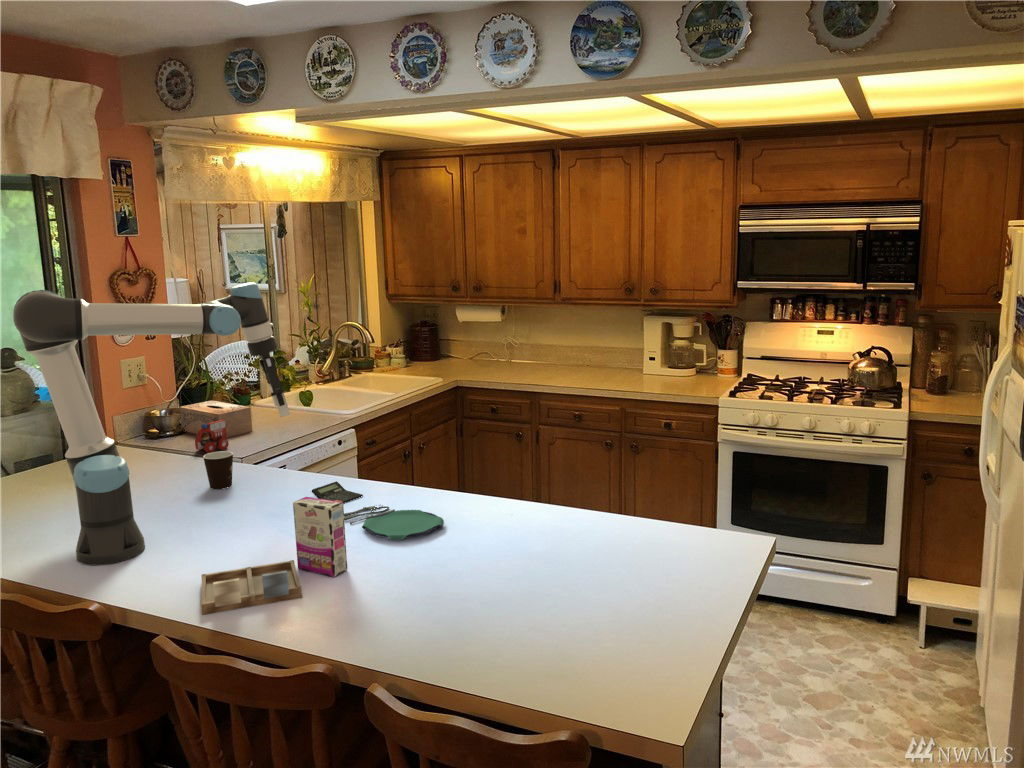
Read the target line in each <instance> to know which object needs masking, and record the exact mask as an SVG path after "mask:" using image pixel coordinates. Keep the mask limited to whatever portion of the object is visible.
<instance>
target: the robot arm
mask: <svg viewBox="0 0 1024 768" xmlns="http://www.w3.org/2000/svg"><path fill="white" fill-rule="evenodd" d="M229 291H230V294H229V295H228V296H225V297H221V298H218V299H214V300H211V301H206V302H202V303H197V304H196V303H195V304H193V303H191V304H190V303H105V302H104V303H101V302H99V303H98V302H97V303H96V302H93V303H92V302H87V301H85V300H84V299H83V298H68V297H62V296H61V295H59V294H57V293H55V292H53V291H51V290H46V289H39V290H31V291H28V292H26V293H24V294H23V295H21V296H20V297H19V298H18V299H17V301H15V304H14V308H13V312H12V313H13V314H12V316H13V317H12V318H13V323H14V327H16V329H17V331H18V332H19V335H20V337H21V340H22V343H23V345H24V346H23V347H24V348H25V351H26V353H28V354H29V355H32V356H34V357H35V358H36V361H37V363H38V366H39V368H40V370H41V375H42V377H43V380H44V382H45V385H46V387H47V390H48V393H49V396H50V399H51V401H52V404H53V407H54V410H55V412H56V415H57V418H58V421H59V423H60V426H61V429H62V431H63V434H64V437H65V439H66V442H67V445H68V449H67V450H66V451H65V454H64V457H65V459H66V462H67V466H68V468H69V470H70V474H71V476H72V480H73V482H74V487H75V493H76V499H77V500H76V501H77V506H78V514H79V515H78V516H79V521H80V531H79V535H78V538H77V543H76V546H75V547H76V548H75V555H76V561H77V562H78V563H80V564H82V565H89V566H100V565H103V566H104V565H109V564H115V563H119V562H123V561H127V560H129V559H132V558H134V557H136V556H138V555H140V554H141V553H143V551H144V550H145V549H146V544H145V537H144V535H143V533H142V531H141V530H140V528H139V525H138V523H137V522H136V521H135V518H134V517H135V516H134V509H133V501H132V500H133V499H132V491H131V483H130V481H131V480H130V469H129V466H128V462H127V460H126V459H125V458H123V457H122V456H120V452H119V451H118V447H117V445H116V441H115V439H113V438H110V437H109V436H107V435H106V433H105V430H104V428H103V425H102V422H101V419H100V417H99V413H98V410H97V408H96V404H95V401H94V399H93V395H92V393H91V391H90V387H89V384H88V382H87V380H86V376H85V373H84V370H83V367H82V365H81V362H80V359H79V355H78V353H77V350H76V345H77V343H78V341H84V340H85V339H86V338H87V337H89V336H144V335H146V336H147V335H148V336H156V335H157V336H158V335H159V336H160V335H161V336H163V335H165V336H167V335H169V336H170V335H218V336H222V337H224V336H231V335H233V334H236V332H237V331H238V330H239V329H240V327H241V331H242V334H243V336H244V341H246V342H247V344H246V345H247V349H248V352H249V354H250V356H252V357H258V356H259V358H260V359H259V360H258V362H259V364H260V367H261V368H262V371H263V373H264V375H265V380H266V381H267V382H266V383H267V385H268V389H269V392H270V395H271V397H272V401H273V404H274V407H277V411H278V414H279V417H280V418H283V417H286V416H290V415H291V411H290V409H289V407H288V402H287V399H286V397H285V394H284V389H283V386H282V383H281V381H280V377H279V375H278V368H277V365H276V360H275V357H274V355H271V353H272V352H274V351H276V350H277V349H278V345H277V341H276V338H275V336H274V335H273V334H274V332H273V329H272V327H273V326H274V324H273V323H272V322H271V323H270V319H269V317H268V313H267V312H268V311H267V308H266V306H265V302H264V297H263V296H262V293H261V290H260V288H259V286H258V284H257V283H256V282H244V283H241V284H238V285H234V286H232V287H230V288H229Z"/></svg>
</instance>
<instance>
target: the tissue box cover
mask: <svg viewBox="0 0 1024 768" xmlns="http://www.w3.org/2000/svg"><path fill="white" fill-rule="evenodd" d="M179 412H180V413H181V416H180V422H181V428H182V427H183V428H184V429H185V430H186V431H187V433H190V434H194V435H197V433H198V430H199V429H202V428H201V425H202V424H208V423H211V422H216V421H220V420H226V422H227V427H226V435H227V438H232V437H235V436H239V435H244V434H246V433H251V432H253V422H252V421H253V419H252V408H251V406H245V405H240V404H236V403H235V404H234V403H228V402H223V401H217V400H212V399H211V400H208V401H202V402H197V403H193V404H187V405H182V406H179ZM180 413H179V414H180ZM186 431H185V432H186ZM207 433H208V432H207Z"/></svg>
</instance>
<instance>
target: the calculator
mask: <svg viewBox="0 0 1024 768" xmlns="http://www.w3.org/2000/svg"><path fill="white" fill-rule="evenodd" d="M311 493H312V494H313V495H314V496H315V498H318V499H325V500H331V501H337V502H343V503H344V504H346V503H349V502H351V501H350V500H352V501H354V500H353V499H355V500H357V499H360V498H362V497H361V496H364V495H363V494H362V493H359V492H354V491H350V490H346V489H345V488H344V486H342V485H341V484H340V483H339V482H338V481H333V482H331V483H327V484H325V485H321V486H318V487H316V488H313V489H311ZM359 497H360V498H359ZM356 498H357V499H356ZM348 501H349V502H348ZM345 502H346V503H345Z"/></svg>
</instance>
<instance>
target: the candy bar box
mask: <svg viewBox="0 0 1024 768" xmlns="http://www.w3.org/2000/svg"><path fill="white" fill-rule="evenodd" d="M292 505H293V506H292V508H293V521H294V534H295V545H296V560H297V569H298V570H299V571H300V570H301V571H304V572H309V573H313V574H318V575H322V576H323V575H324V576H328V577H331V578H335V577H337V576H339V575H341V574H343V573H344V572H347V570H348V559H347V545H346V543H347V541H346V540H347V539H346V528H345V527H346V526H345V524H346V523H345V520H344V512H345V511H344V510H345V509H344V504H343V502H337V501H331V500H325V499H318V498H317V497H311V496H310V497H309V496H305V497H302V498H300V499H298V500H295V501H293V502H292Z"/></svg>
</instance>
